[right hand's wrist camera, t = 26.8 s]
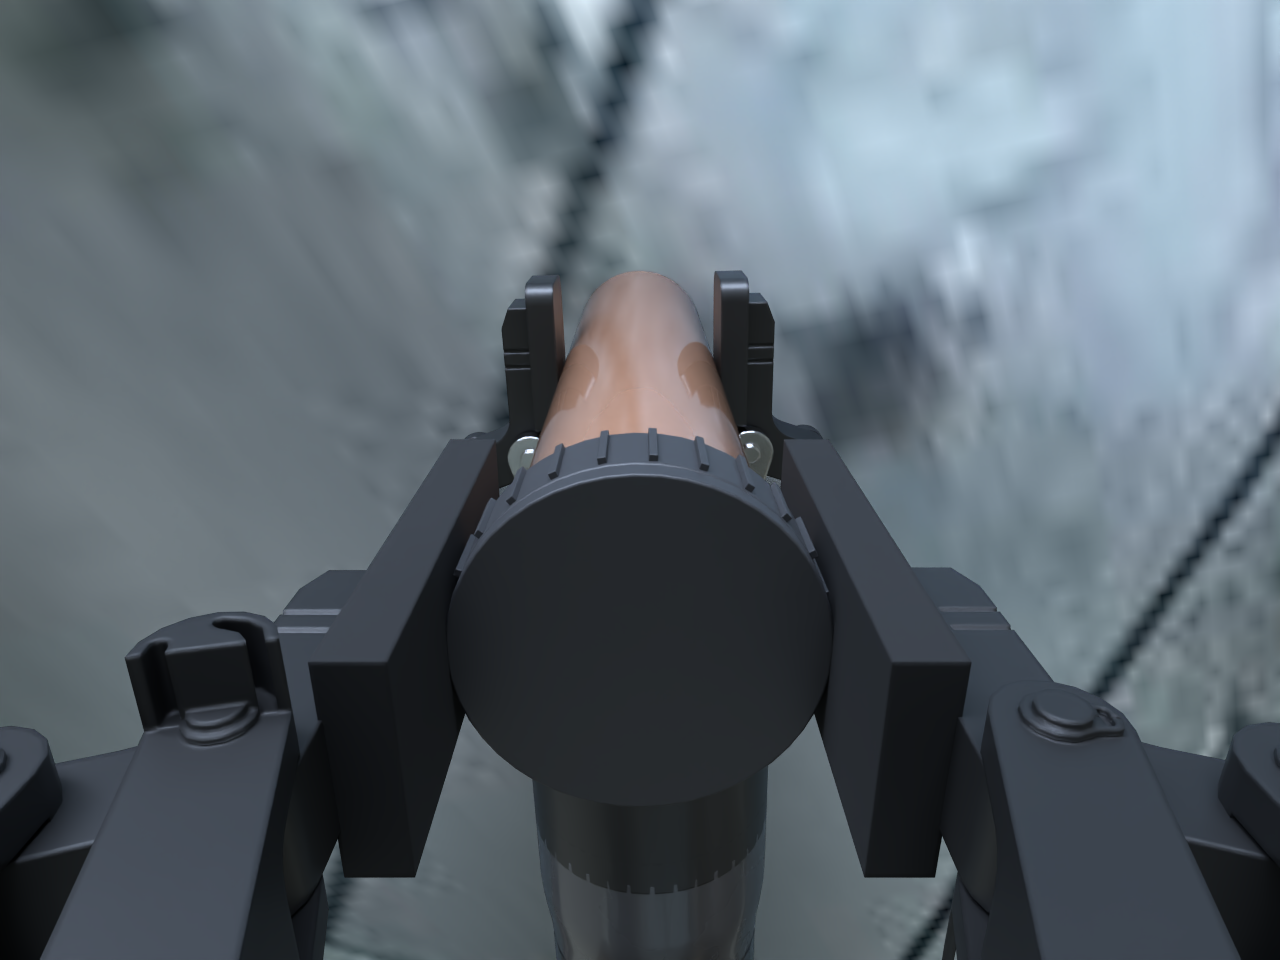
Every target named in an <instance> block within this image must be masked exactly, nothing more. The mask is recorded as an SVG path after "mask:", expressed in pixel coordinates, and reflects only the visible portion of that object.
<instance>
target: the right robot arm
mask: <svg viewBox="0 0 1280 960" xmlns="http://www.w3.org/2000/svg"><path fill="white" fill-rule="evenodd" d="M781 492H782V494H783V497H784V499H785V502H786V504H787V506H788V508H789V510H790V511H791V513H792V514H793V516H794V518H795V519H796V518H798V517H801V518H802V520H803V522H804V524H805V527H806V529H807V531H808V533H809V536H810V538H811V540H812V543H813V545H814V547H815V550H816V552H817V554H818V557H816V558H815V560H816V563H817V565H818V567H819V570H820V572H821V574H822V577H823V579H824V581H825V584H826V586H827V589H828V591H829V593H828V600H829V603H830V608H831V613H832V619H833V625H834V630H833V645H832V656H831V666H830V674H829V678H828V682H827V685H826V688H825V691H824V694H823V696H822V698H821V700H820V702H819V705H818V707H817V709H816V711H815V713H814V714H815V717H816V721H817V724H818V727H819V731H820V734H821V737H822V740H823V744H824V747H825V750H826V753H827V757H828V760H829V763H830V766H831V770H832V773H833V776H834V779H835V783H836V786H837V789H838V793H839V796H840V799H841V802H842V806H843V809H844V812H845V815H846V819H847V822H848V825H849V828H850V832H851V835H852V838H853V842H854V845H855V848H856V851H857V855H858V858H859V861H860V864H861V868H862V871H863V874H864V877H903V878H904V877H906V878H908V877H909V878H935V874H936V868H937V863H938V857H939V851H940V845H941V839H942V836H943V839H944V841H945V843H946V845H947V848H948V850H949V852H950V855H951V857H952V859H953V861H954V864H955V866H956V868H957V871H958V873H957V879H956V884H955V890H954V895H953V901H952V906H951V912H950V917H949V923H948V928H947V933H946V939H945V944H944V951H943V957H942V960H954V957H955V952H956V953H957V960H1280V723H1272V722H1267V723H1260V724H1253V725H1246V726H1245V727H1244V728H1242V729H1241V730H1240V731H1238V732H1237V733H1236V734H1234V735H1233V738H1232V742H1231V745H1230V748H1229V751H1228V754H1227V757H1226V760H1222V759H1217V758H1212V757H1207V756H1202V755H1197V754H1192V753H1187V752H1182V751H1177V750H1172V749H1167V748H1162V747H1158V746H1154V745H1150V744H1147V743H1143V742H1141V740H1140V738H1139V736H1138V734H1137V732H1136V730H1135V729H1134V727H1133V726H1132V725H1131V723H1130V722H1129V721H1128V719H1127V718H1126V717H1125V716H1124V714H1123V713H1121V712H1120V711H1119V710H1117V709H1116V708H1114V707H1113V706H1111V705H1110V704H1109V703H1107V702H1106V701H1104V700H1103V699H1102V698H1099V697H1097V696H1095V695H1092V694H1090V693H1088V692H1085V691H1083V690H1081V689H1078V688H1076V687H1073V686H1068V685H1064V684H1060V683H1055V682H1054V681H1053V680H1052V679H1051V677H1050V676H1049V675H1048V673H1047V672H1046V671H1045V670H1044V668H1043V667H1042V666H1041V664H1040V663H1039V662H1038V661H1037V659H1036V658H1035V657H1034V655H1033V654H1032V653H1031V651H1030V650H1029V649H1028V648H1027V646H1026V645H1025V644H1024V642H1023V641H1022V640H1021V638H1020V637H1019V636H1018V635H1017V633H1016V632H1015V631H1014V630H1011V629H1010V624H1009V623H1008V622H1007V620H1006V619H1005V618H1004V616H1003V615H1002V614H1001V613H1000V612H997V607H996V606H995V605H994V603H993V602H992V601H991V600H990V598H989V597H988V596H987V594H986V593H985V592H984V590H983V589H982V588H981V587H980V586H979V585H978V584H976V583H974V582H973V581H971V580H970V579H968V578H966V577H965V576H963V575H962V574H960V573H958V572H957V571H955V570H954V569H952V568H911V567H910V565H909V563H908V562H907V560H906V559H905V557H904V556H903V554H902V553H901V551H900V549H899V548H898V546H897V545H896V543H895V542H894V540H893V539H892V537H891V535H890V534H889V532H888V531H887V529H886V528H885V526H884V525H883V523H882V521H881V520H880V518H879V517H878V515H877V514H876V512H875V510H874V509H873V507H872V506H871V504H870V503H869V501H868V500H867V498H866V496H865V495H864V493H863V492H862V490H861V489H860V487H859V486H858V484H857V482H856V481H855V479H854V478H853V476H852V475H851V473H850V471H849V470H848V468H847V467H846V465H845V464H844V462H843V461H842V459H841V457H840V456H839V454H838V453H837V451H836V450H835V448H834V447H833V445H832V443H831V442H830V440H829V439H784V445H783V460H782V475H781ZM490 498H493V499H495V500H497V499H498V498H499V483H498V468H497V453H496V439H450V441H449V443H448V444H447V446H446V447H445V449H444V450H443V452H442V453H441V455H440V457H439V458H438V460H437V461H436V463H435V464H434V466H433V468H432V469H431V471H430V472H429V474H428V475H427V477H426V478H425V480H424V482H423V483H422V485H421V486H420V488H419V489H418V491H417V492H416V494H415V496H414V497H413V499H412V500H411V502H410V503H409V505H408V506H407V508H406V510H405V511H404V513H403V514H402V516H401V517H400V519H399V521H398V522H397V524H396V525H395V527H394V528H393V530H392V531H391V533H390V535H389V536H388V538H387V539H386V541H385V542H384V544H383V545H382V547H381V549H380V550H379V552H378V553H377V555H376V556H375V558H374V559H373V561H372V563H371V564H370V566H369V567H368V569H367V570H329V571H327V572H326V573H324V574H323V575H321V576H319V577H318V578H316V579H315V580H313V581H311V582H310V583H308V584H307V585H305V586H304V587H302V588H300V589H299V591H298V592H297V593H296V594H295V596H294V597H293V598H292V600H291V601H290V602H289V604H288V605H287V606H286V608H285V609H284V610H283V615H279V617H278V618H277V619H276V621H275V622H274V623H273V622H272V621H270V620H269V619H268V618H266V617H265V616H262V615H257V614H252V613H248V612H217V613H212V614H207V615H202V616H197V617H192V618H188V619H185V620H183V621H180V622H177V623H175V624H172V625H169V626H167V627H164V628H161V629H160V630H158V631H156V632H155V633H153V634H151V635H150V636H148V637H146V638H145V639H143V640H141V641H140V642H138V644H137V645H136V646H135V647H134V648H133V649H132V650H131V651H130V652H129V653H128V654H127V655H126V657H125V661H126V664H127V668H128V672H129V676H130V680H131V683H132V687H133V691H134V695H135V698H136V702H137V706H138V710H139V714H140V717H141V721H142V725H143V729H144V733H143V735H142V737H141V740H140V742H139V744H138V746H136V747H132V748H128V749H124V750H121V751H116V752H111V753H106V754H101V755H96V756H91V757H86V758H81V759H77V760H72V761H67V762H62V763H57V764H55V763H54V759H53V756H52V753H51V750H50V747H49V744H48V741H47V739H46V738H45V737H44V736H42V735H41V734H40V733H38V732H37V731H36V730H35V729H29V728H22V727H15V726H7V727H0V960H323V955H324V946H325V937H326V928H327V919H328V910H329V909H328V902H327V896H326V890H325V884H324V879H323V871H324V869H325V867H326V865H327V862H328V860H329V858H330V855H331V853H332V851H333V848H334V846H335V844H336V842H337V839H338V842H339V848H340V854H341V860H342V866H343V871H344V877H345V878H353V877H415V876H416V872H417V869H418V866H419V863H420V859H421V856H422V853H423V850H424V846H425V843H426V840H427V837H428V833H429V830H430V827H431V823H432V820H433V817H434V814H435V810H436V807H437V804H438V801H439V797H440V794H441V791H442V788H443V784H444V781H445V778H446V775H447V771H448V768H449V765H450V761H451V758H452V755H453V752H454V748H455V745H456V742H457V739H458V735H459V732H460V729H461V726H462V722H463V719H464V716H465V711H464V710H463V708H462V706H461V704H460V702H459V700H458V697H457V695H456V692H455V689H454V687H453V684H452V681H451V677H450V671H449V662H448V651H447V641H446V623H447V614H448V610H449V606H450V602H451V598H452V594H453V591H454V589H455V587H456V584H457V582H458V580H459V577H456V576H454V575H453V574H454V572H455V569H456V567H457V564H458V562H459V560H460V557H461V555H462V553H463V551H464V548H465V546H466V544H467V541H468V539H469V537H470V535H471V534H472V535H474V533H475V531H476V528H477V526H478V524H479V521H480V519H481V517H482V514H483V512H484V510H485V507H486V505H487V503H488V501H489V500H490Z"/></svg>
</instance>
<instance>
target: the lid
mask: <svg viewBox="0 0 1280 960" xmlns="http://www.w3.org/2000/svg"><path fill="white" fill-rule="evenodd" d="M816 557H818V554H817V552H816V550H815V547H814V545H813V543H812V540H811V538H810V536H809V533H808V531H807V529H806V527H805V524H804V522H803V520H802V518H801V517H798V518H796V519H795V518H794V516H793V514H792V513H791V511H790V510H789V508H788V506H787V504H786V502H785V499H784V497H783V494H782V492H781V489H780V487H779V486H778V485H777V484H776V483H775V482H774V483H773V484H772V485H769V484H768V483H767V482H766V481H765V480H764V479H763V478H762V477H761V476H759V475H758V474H757V473H756V472H754V471H753V470H752V469H751V468H749V467H748V464H747V461H746V458H745V457H743V456H741V455H738V456H737V458H736V459H735V458H734V457H732V456H730V455H729V454H727V453H725V452H722V451H720V450H718V449H716V448H713V447H711V446H709V445H706V444H705V443H704V438H702V437H699V436H696V437H695V440H694V441H693V440H690V439H686V438H683V437H677V436H671V435H665V434H658V433H657V428H648V433H625V434H614V435H609V431H608V430H605V431H601V432H600V437H598V438H593V439H589V440H585V441H582V442H579V443H577V444H574V445H571V446H568V447H566V448H565V447H564V445H563V443H561V444H559V445H557V446H556V447H555V450H554V453H553V454H551V455H549V456H547V457H546V458H544V459H542V460H540V461H539V462H538V463H536V464H535V465H533V466H532V467H530V468H529V469H527V470H526V469H525V468H524V467H523V466H522V467H521V468H520V469H518V470H517V472H516V475H515V477H514V480H513V482H512V483H511V484H510V485H509V486H508V487H507V488H506V489H505V491H504V492H503V493H502V494H501V496H500V497H499V498H498V499H497V500H495V499H493V498H490V500H489V501H488V503H487V505H486V507H485V510H484V512H483V514H482V517H481V519H480V521H479V524H478V526H477V528H476V531H475V533H474V535H472V534H471V535H470V537H469V539H468V541H467V544H466V546H465V548H464V551H463V553H462V555H461V557H460V560H459V562H458V564H457V567H456V569H455V572H454V574H453V575H454V576H456V577H459V580H458V582H457V584H456V587H455V589H454V591H453V594H452V598H451V602H450V606H449V610H448V614H447V623H446V641H447V651H448V662H449V671H450V677H451V681H452V684H453V687H454V689H455V692H456V695H457V697H458V700H459V702H460V704H461V706H462V708H463V710H464V711H465V713H466V715H467V717H468V719H469V721H470V722H471V723H472V725H473V726H474V727H475V729H476V730H477V731H478V733H479V734H480V735H481V737H482V738H483V739H484V740H485V741H486V742H487V743H488V744H489V745H490V746H491V748H492V749H493V750H494V751H495V752H496V753H497V754H498V755H500V756H501V757H502V758H503V759H504V760H506V761H507V762H508V763H509V764H511V765H512V766H513V767H514V768H516V769H517V770H519V771H520V772H522V773H524V774H525V775H527V776H528V777H530V778H531V779H533V780H535V781H537V782H539V783H541V784H543V785H545V786H547V787H549V788H551V789H553V790H556V791H558V792H561V793H564V794H567V795H570V796H573V797H575V798H579V799H583V800H587V801H592V802H596V803H601V804H609V805H616V806H631V807H650V806H663V805H672V804H677V803H683V802H688V801H693V800H696V799H700V798H703V797H707V796H710V795H713V794H716V793H718V792H721V791H723V790H725V789H728V788H730V787H733V786H735V785H737V784H739V783H740V782H742V781H744V780H746V779H748V778H749V777H751V776H753V775H755V774H756V773H758V772H759V771H760V770H762V769H763V768H765V767H766V766H767V765H769V764H770V763H772V762H773V761H774V760H775V759H776V758H777V757H779V756H780V755H781V754H782V753H783V752H784V751H785V750H786V749H787V748H788V747H789V746H790V745H791V744H792V743H793V742H794V740H795V739H796V738H797V737H798V736H799V735H800V733H801V732H802V731H803V730H804V728H805V727H806V725H807V724H808V722H809V721H810V719H811V717H812V716H813V714H814V713H815V711H816V709H817V707H818V705H819V702H820V700H821V698H822V696H823V694H824V691H825V688H826V685H827V682H828V678H829V674H830V666H831V656H832V645H833V630H834V625H833V619H832V613H831V608H830V603H829V600H828V593H829V591H828V589H827V586H826V584H825V581H824V579H823V577H822V574H821V572H820V570H819V567H818V565H817V563H816V560H815V558H816Z"/></svg>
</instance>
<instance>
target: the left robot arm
mask: <svg viewBox="0 0 1280 960" xmlns="http://www.w3.org/2000/svg"><path fill="white" fill-rule="evenodd" d="M774 327H775V322H774V319H773V316H772V314H771V311H770V308H769V305H768V303H767V301H766V300H765V299H764V297H763V296H762V295H761V294H760V293H749V284H748V278H747V277H746V275H745V274H744V273H743V272H742V271H715V274H714V346H713V359H714V362H715V365H716V368H717V371H718V373H719V376H720V379H721V382H722V385H723V388H724V391H725V394H726V397H727V400H728V402H729V405H730V408H731V411H732V414H733V417H734V420H735V423H736V426H737V429H738V431H739V434H740V437H741V440H742V443H743V446H744V449H745V452H746V455H747V457H748V460H749V463H750V466H751V469H752V470H753V471H754V472H756V473H757V474H758V475H759V476H761V477H762V478H763V479H764V480H765V479H766V476H770V477H773V478H776V479H780V480H781V475H782V460H783V445H784V439H823V438H822V437H821V435H820V433H819V432H818V431H817V430H816V429H815V428H813V427H811V426H808V425H798V426H795V425H792V424H789V423H786V422H783V421H780V420H778V419H776V418H775V417H774V416H773V415H772V388H773V357H774ZM502 338H503V350H504V361H505V372H506V383H507V394H508V405H509V417H510V422H509V423H508V424H507V425H505V426H504V427H502V428H500V429H497V430H495V431H492V432H489V433H483V432H477V433H473V434H470V435H468V436H467V437H466V438H465V439H496V453H497V468H498V483H499V488H502V487H504V486H507V485H510V484H511V483H512V482H513V480H514V477H515V475H516V472H517V470H518V469H520V468H521V467H522V466H523V467H524V468H525V469H526V470H527V469H529V466H530V463H531V460H532V457H533V454H534V451H535V448H536V445H537V442H538V440H539V437H540V434H541V431H542V428H543V425H544V422H545V419H546V416H547V414H548V411H549V408H550V405H551V402H552V399H553V396H554V393H555V390H556V387H557V385H558V382H559V379H560V376H561V373H562V370H563V367H564V364H565V345H564V329H563V313H562V296H561V284H560V277H559V275H542V276H532V277H531V278H530V279H529V281H528V282H527V283H526V287H525V299H515V300H514V302H513V303H512V304H511V305H510V307H509V308H508V310H507V313H506V316H505V320H504V323H503V326H502ZM767 778H768V765H767V766H766V767H765V768H763V769H762V770H760V771H759V772H758V773H756V774H755V775H753V776H751V777H749V778H748V779H746V780H744V781H742V782H740V783H739V784H737V785H735V786H733V787H730V788H728V789H725V790H723V791H721V792H718V793H716V794H713V795H710V796H707V797H703V798H700V799H696V800H693V801H688V802H683V803H677V804H672V805H663V806H650V807H631V806H616V805H609V804H601V803H596V802H592V801H587V800H583V799H579V798H575V797H573V796H570V795H567V794H564V793H561V792H558V791H556V790H553V789H551V788H549V787H547V786H545V785H543V784H541V783H539V782H537V781H535V780H533V791H534V802H535V813H536V824H537V835H538V845H539V855H540V866H541V875H542V881H543V887H544V891H545V896H546V900H547V904H548V907H549V910H550V914H551V917H552V921H553V927H554V937H555V948H556V959H557V960H754V926H755V917H756V911H757V907H758V903H759V899H760V893H761V888H762V883H763V875H764V861H765V836H766V809H767Z"/></svg>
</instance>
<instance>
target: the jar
mask: <svg viewBox="0 0 1280 960" xmlns="http://www.w3.org/2000/svg"><path fill="white" fill-rule="evenodd" d="M648 428H657V433H658V434H665V435H671V436H677V437H683V438H686V439H690V440H693V441H694V440H695V437H696V436H699V437H702V438H704V443H705V444H706V445H709V446H711V447H713V448H716V449H718V450H720V451H722V452H725V453H727V454H729V455H730V456H732V457H734V458H735V459H736V458H737V456H738V455H741V456H743V457H745V458H746V461H747V464H748V467H749V468H751V466H750V463H749V460H748V457H747V455H746V452H745V449H744V446H743V443H742V440H741V437H740V434H739V431H738V429H737V426H736V423H735V420H734V417H733V414H732V411H731V408H730V405H729V402H728V400H727V397H726V394H725V391H724V388H723V385H722V382H721V379H720V376H719V373H718V371H717V368H716V365H715V362H714V359H713V356H712V353H711V350H710V347H709V345H708V342H707V339H706V336H705V333H704V330H703V327H702V324H701V321H700V318H699V316H698V313H697V310H696V308H695V306H694V303H693V302H692V300H691V298H690V297H689V296H688V294H687V293H686V292H685V291H684V290H683V289H682V288H681V287H680V286H679V285H678V284H676V283H675V282H674V281H672V280H670V279H668V278H667V277H665V276H662V275H659V274H656V273H652V272H644V271H635V272H628V273H624V274H621V275H617V276H615V277H613V278H611V279H609V280H608V281H606V282H605V283H603V284H602V285H601V286H600V287H599V288H597V289H596V291H595V292H594V293H593V294H592V295H591V297H590V298H589V300H588V301H587V303H586V305H585V307H584V309H583V312H582V315H581V318H580V321H579V324H578V327H577V330H576V332H575V335H574V338H573V341H572V344H571V347H570V350H569V353H568V356H567V359H566V361H565V364H564V367H563V370H562V373H561V376H560V379H559V382H558V385H557V387H556V390H555V393H554V396H553V399H552V402H551V405H550V408H549V411H548V414H547V416H546V419H545V422H544V425H543V428H542V431H541V434H540V437H539V440H538V442H537V445H536V448H535V451H534V454H533V457H532V460H531V463H530V466H529V468H530V467H532V466H533V465H535V464H536V463H538V462H539V461H540V460H542V459H544V458H546V457H547V456H549V455H551V454H553V453H554V450H555V447H556V446H557V445H559V444H561V443H563V445H564V447H565V448H566V447H568V446H571V445H574V444H577V443H579V442H582V441H585V440H589V439H593V438H598V437H600V432H601V431H605V430H608V431H609V435H614V434H625V433H648Z"/></svg>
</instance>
